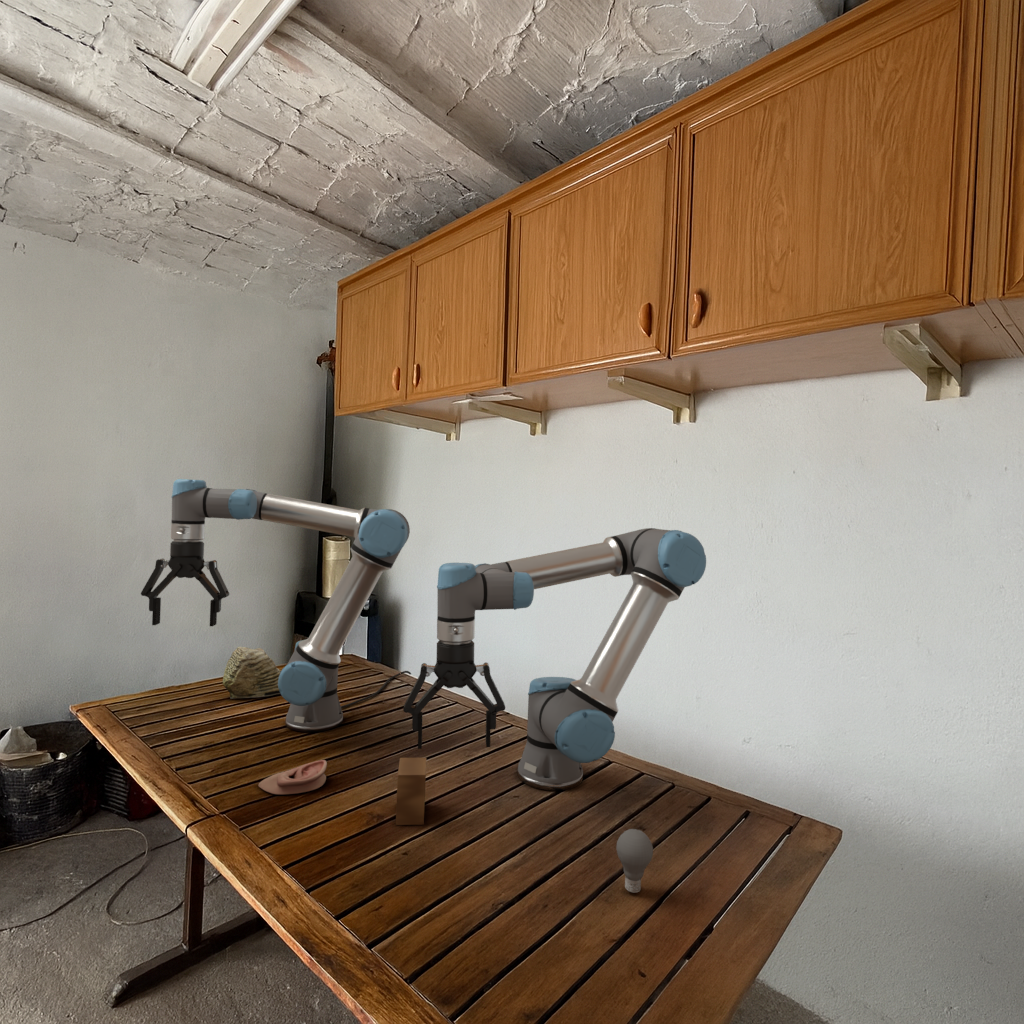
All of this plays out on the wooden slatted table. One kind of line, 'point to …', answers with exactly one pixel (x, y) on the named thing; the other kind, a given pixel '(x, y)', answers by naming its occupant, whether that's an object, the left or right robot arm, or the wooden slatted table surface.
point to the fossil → (251, 674)
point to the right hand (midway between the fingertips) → (454, 745)
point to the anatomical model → (296, 779)
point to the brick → (411, 791)
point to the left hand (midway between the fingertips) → (184, 624)
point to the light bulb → (634, 857)
